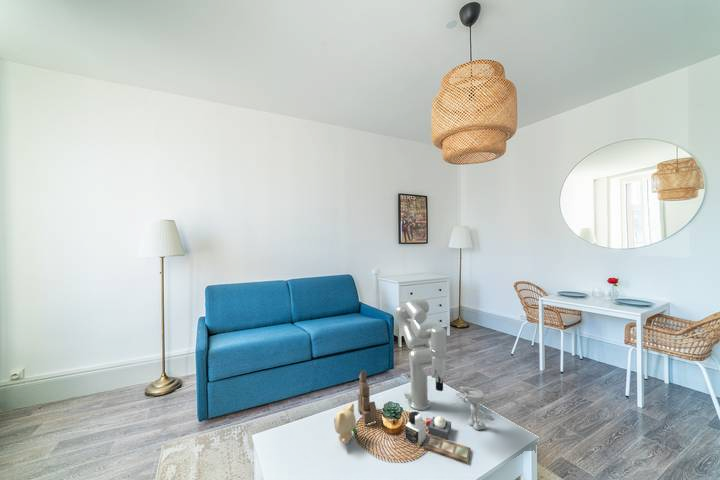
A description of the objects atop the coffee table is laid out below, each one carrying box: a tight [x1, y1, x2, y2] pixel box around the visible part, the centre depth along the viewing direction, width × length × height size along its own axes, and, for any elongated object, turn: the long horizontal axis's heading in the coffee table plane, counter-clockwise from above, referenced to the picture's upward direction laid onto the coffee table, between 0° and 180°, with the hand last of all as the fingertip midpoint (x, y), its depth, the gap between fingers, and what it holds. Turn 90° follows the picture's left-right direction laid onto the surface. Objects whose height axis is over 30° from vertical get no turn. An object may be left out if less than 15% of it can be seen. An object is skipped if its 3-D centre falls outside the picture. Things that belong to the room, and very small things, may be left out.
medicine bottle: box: [404, 411, 427, 447], centre depth 133 cm, size 7×7×12 cm
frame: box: [421, 433, 430, 449], centre depth 133 cm, size 11×11×1 cm
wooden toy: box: [357, 370, 377, 424], centre depth 151 cm, size 16×7×25 cm, turn 15°
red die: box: [425, 417, 432, 428], centre depth 143 cm, size 3×3×3 cm
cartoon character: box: [455, 386, 496, 431], centre depth 141 cm, size 25×12×20 cm, turn 19°
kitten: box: [333, 403, 357, 445], centre depth 134 cm, size 15×10×15 cm
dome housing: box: [428, 416, 452, 441], centre depth 138 cm, size 9×9×4 cm
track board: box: [425, 434, 472, 465], centre depth 126 cm, size 18×9×1 cm, turn 61°
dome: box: [434, 415, 447, 430], centre depth 138 cm, size 5×5×5 cm
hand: (439, 389), depth 138 cm, fingers closed
